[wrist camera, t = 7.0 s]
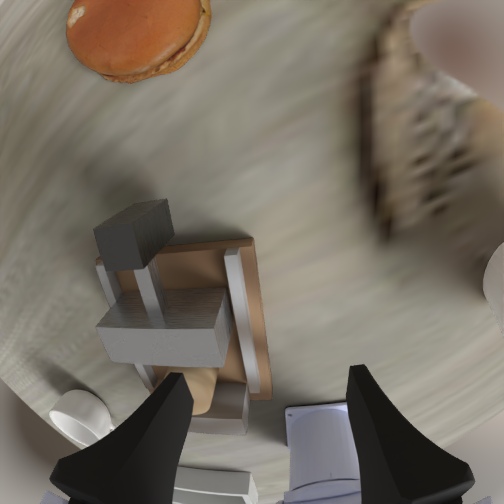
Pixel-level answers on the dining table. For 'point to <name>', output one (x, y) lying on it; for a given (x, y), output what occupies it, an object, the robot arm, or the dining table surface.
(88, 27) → the burger
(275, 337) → the dining table surface
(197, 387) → the nut
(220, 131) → the dining table surface
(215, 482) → the box
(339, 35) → the dining table surface
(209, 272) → the bench
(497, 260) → the white plant pot
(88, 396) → the teacup
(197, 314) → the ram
